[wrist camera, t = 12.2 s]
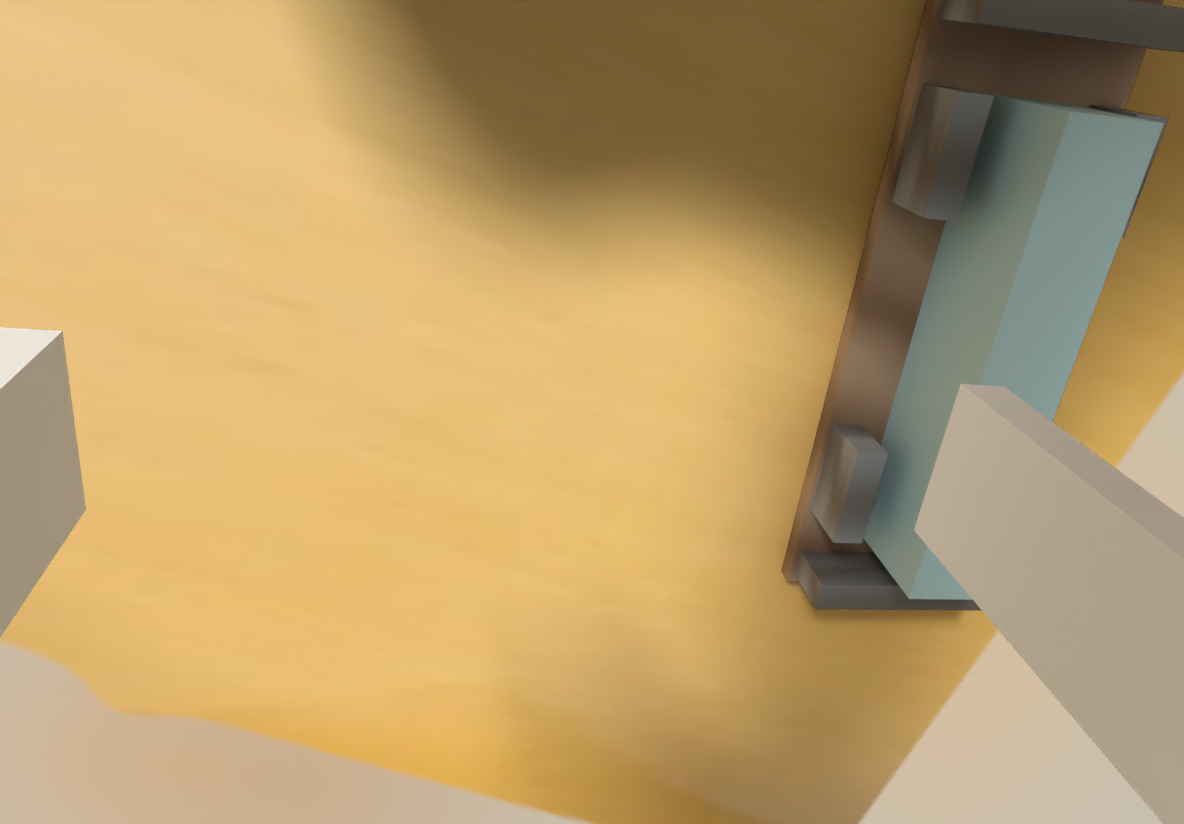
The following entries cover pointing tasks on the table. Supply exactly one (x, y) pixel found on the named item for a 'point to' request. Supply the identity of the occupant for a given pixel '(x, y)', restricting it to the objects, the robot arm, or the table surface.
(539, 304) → the table surface
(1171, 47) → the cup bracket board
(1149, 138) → the rail
